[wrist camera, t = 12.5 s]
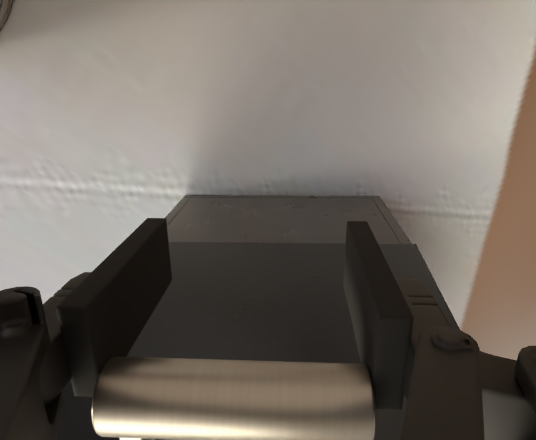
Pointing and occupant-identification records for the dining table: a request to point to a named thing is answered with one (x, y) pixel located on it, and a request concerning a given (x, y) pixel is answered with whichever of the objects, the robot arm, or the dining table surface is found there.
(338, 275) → the grey box lid
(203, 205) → the dark grey square box
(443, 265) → the dining table surface
